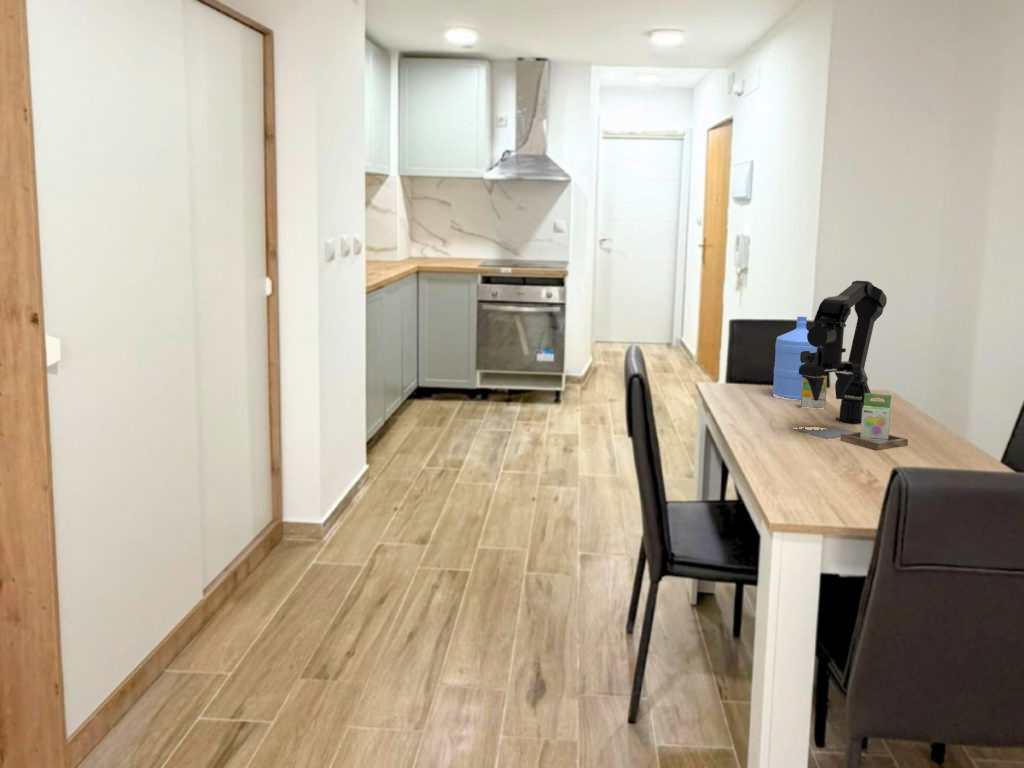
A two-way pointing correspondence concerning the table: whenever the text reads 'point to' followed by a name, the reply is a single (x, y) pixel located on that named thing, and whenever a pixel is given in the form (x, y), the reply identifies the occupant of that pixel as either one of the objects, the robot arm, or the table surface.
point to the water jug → (791, 361)
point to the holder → (891, 443)
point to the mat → (826, 432)
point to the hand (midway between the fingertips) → (827, 399)
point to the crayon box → (807, 395)
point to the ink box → (875, 418)
